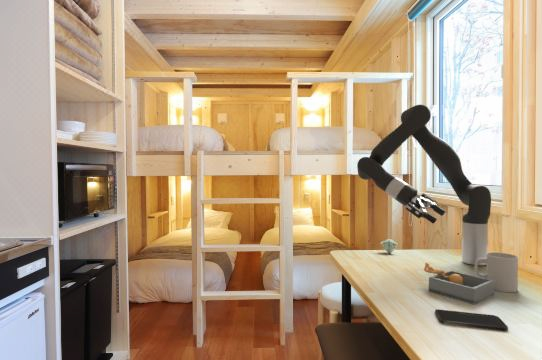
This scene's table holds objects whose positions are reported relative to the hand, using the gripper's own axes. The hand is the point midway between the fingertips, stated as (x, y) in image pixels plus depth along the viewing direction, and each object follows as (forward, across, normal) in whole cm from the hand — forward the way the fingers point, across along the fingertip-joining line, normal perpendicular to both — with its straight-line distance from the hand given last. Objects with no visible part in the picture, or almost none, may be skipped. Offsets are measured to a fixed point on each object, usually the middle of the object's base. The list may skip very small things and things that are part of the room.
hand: (439, 217), depth 119 cm
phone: (+23, -36, +2) cm, 42 cm away
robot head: (-10, +19, +41) cm, 46 cm away
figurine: (+18, -14, +9) cm, 25 cm away
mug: (+26, -2, +10) cm, 28 cm away
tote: (+19, -15, +10) cm, 26 cm away
